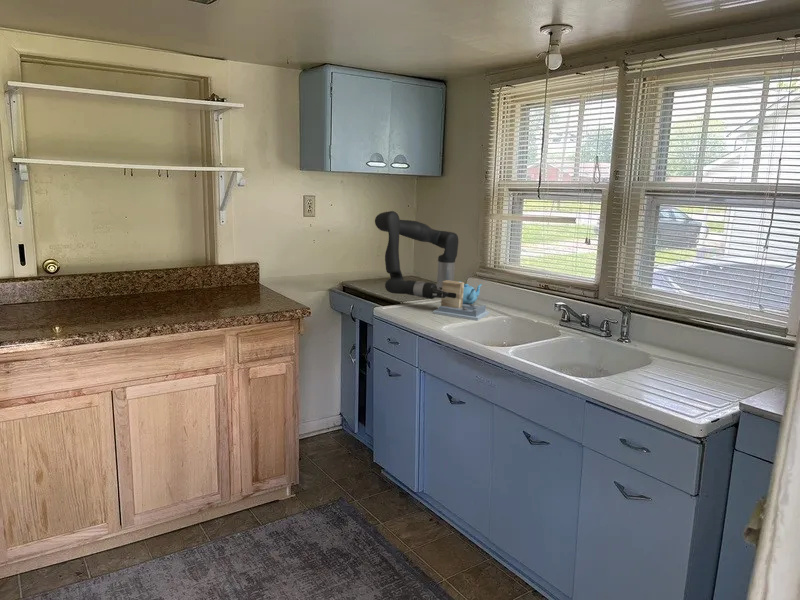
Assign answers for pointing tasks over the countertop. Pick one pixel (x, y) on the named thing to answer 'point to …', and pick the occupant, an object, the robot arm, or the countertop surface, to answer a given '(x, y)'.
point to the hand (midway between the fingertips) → (457, 294)
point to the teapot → (470, 294)
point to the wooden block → (453, 288)
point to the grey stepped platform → (463, 311)
